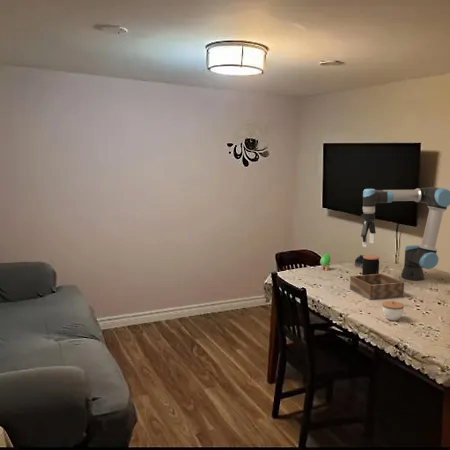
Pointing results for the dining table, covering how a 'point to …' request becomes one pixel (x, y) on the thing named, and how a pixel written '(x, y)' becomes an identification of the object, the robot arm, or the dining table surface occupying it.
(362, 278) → the open wooden box
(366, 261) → the coffee jar
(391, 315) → the lidded jar
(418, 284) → the dining table surface
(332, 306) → the dining table surface
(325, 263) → the green toy tree
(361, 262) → the crystal cluster
